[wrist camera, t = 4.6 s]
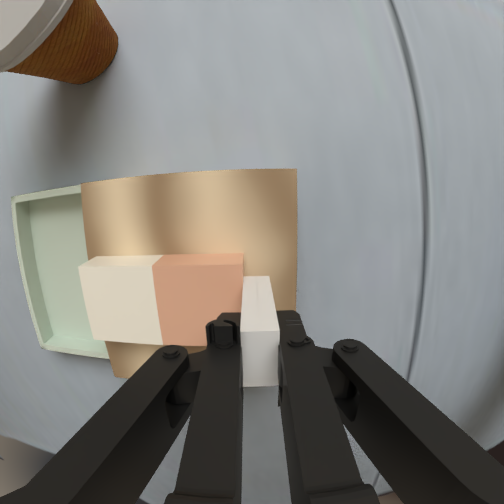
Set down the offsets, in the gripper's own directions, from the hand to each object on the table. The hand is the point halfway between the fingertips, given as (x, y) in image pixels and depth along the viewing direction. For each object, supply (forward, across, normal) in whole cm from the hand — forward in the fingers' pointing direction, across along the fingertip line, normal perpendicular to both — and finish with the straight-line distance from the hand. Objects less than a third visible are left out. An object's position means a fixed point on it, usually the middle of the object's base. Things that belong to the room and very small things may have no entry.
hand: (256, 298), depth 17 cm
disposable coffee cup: (+7, +14, -20) cm, 26 cm away
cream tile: (+1, +8, 0) cm, 8 cm away
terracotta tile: (+1, +3, 0) cm, 3 cm away
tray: (+6, +17, 0) cm, 18 cm away
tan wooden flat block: (+6, +4, 0) cm, 8 cm away
